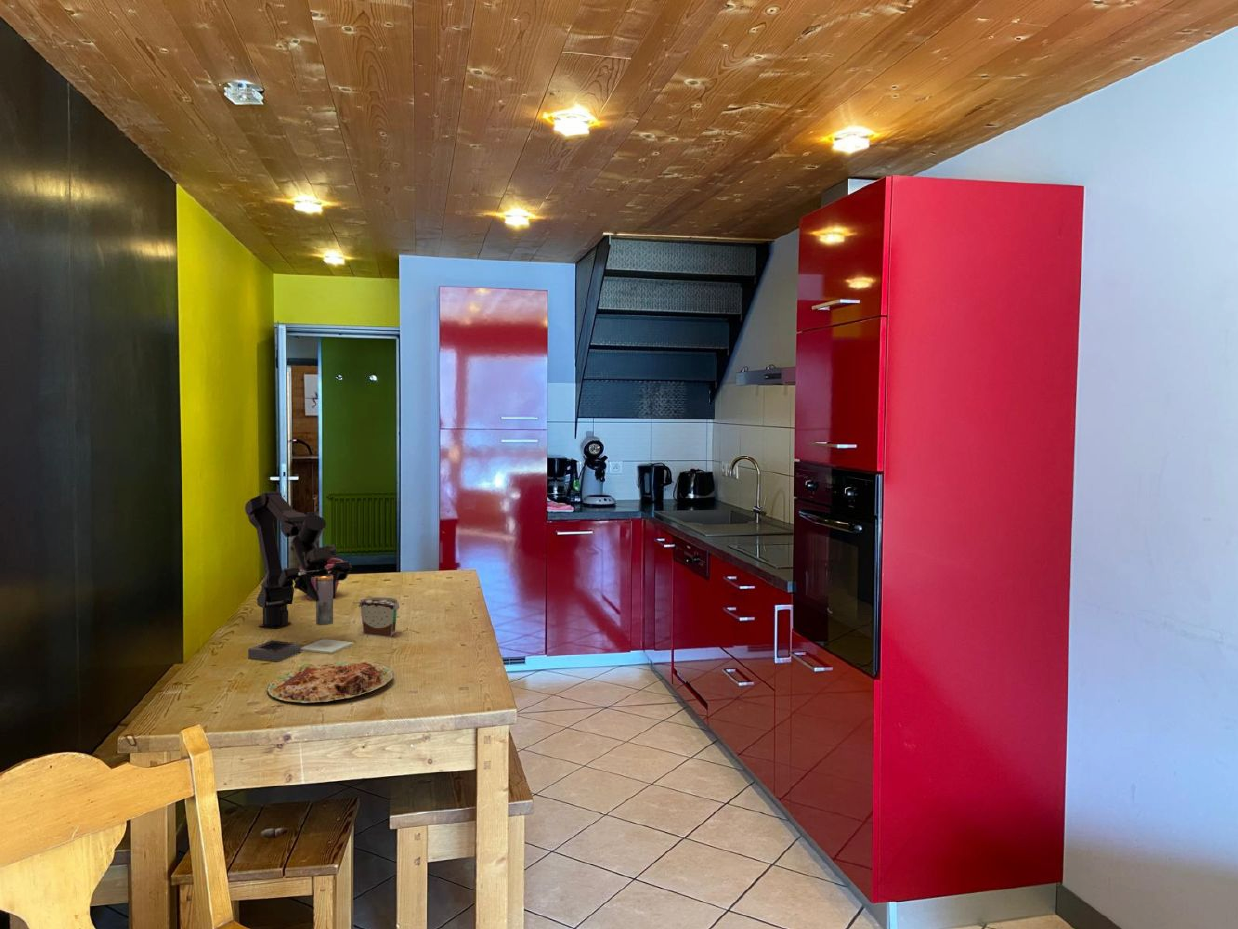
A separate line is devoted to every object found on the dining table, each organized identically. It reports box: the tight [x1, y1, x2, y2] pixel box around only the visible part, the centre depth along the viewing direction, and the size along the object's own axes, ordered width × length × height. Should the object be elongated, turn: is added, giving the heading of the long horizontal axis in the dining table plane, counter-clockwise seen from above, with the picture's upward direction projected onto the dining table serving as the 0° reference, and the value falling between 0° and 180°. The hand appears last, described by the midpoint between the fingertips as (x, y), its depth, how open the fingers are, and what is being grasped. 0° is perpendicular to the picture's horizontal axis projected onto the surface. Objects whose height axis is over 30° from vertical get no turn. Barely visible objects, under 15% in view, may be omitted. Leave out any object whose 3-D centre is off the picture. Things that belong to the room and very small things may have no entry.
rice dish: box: [266, 661, 395, 704], centre depth 199 cm, size 28×28×5 cm
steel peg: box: [315, 574, 334, 626], centre depth 229 cm, size 4×4×13 cm
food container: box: [358, 596, 400, 638], centre depth 246 cm, size 12×6×10 cm, turn 71°
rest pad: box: [301, 638, 355, 655], centre depth 231 cm, size 10×10×1 cm
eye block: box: [247, 639, 302, 663], centre depth 223 cm, size 9×9×2 cm
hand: (325, 599), depth 229 cm, fingers closed on steel peg, 4 cm apart
